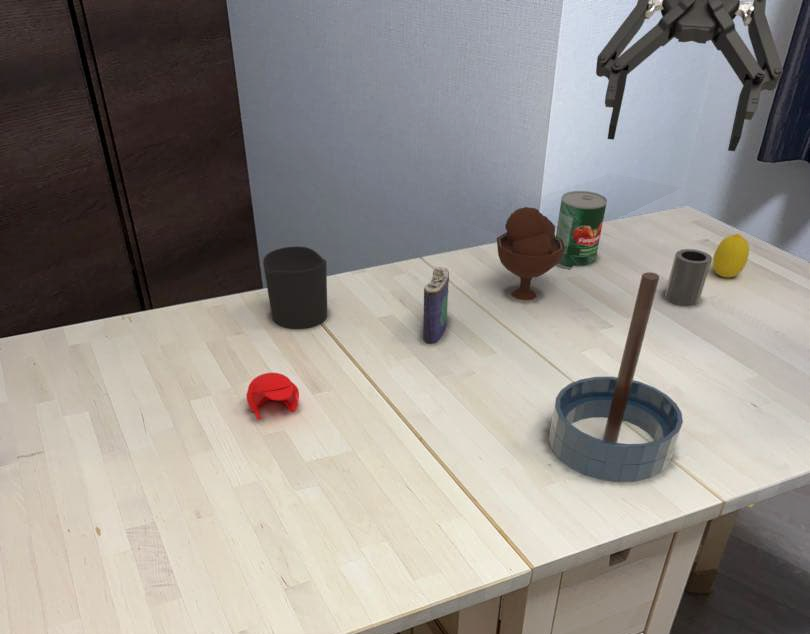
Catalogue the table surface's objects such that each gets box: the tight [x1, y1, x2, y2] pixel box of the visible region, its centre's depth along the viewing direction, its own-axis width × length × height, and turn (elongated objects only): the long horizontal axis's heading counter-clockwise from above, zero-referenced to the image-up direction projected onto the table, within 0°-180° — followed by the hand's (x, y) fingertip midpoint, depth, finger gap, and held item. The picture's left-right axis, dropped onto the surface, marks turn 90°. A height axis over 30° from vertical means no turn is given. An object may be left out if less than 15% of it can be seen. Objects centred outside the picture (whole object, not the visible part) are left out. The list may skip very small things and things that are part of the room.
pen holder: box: [262, 246, 328, 330], centre depth 115 cm, size 9×9×10 cm
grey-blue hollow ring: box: [548, 376, 684, 483], centre depth 93 cm, size 15×15×6 cm
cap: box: [246, 372, 300, 421], centre depth 97 cm, size 8×6×6 cm
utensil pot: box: [664, 248, 713, 307], centre depth 122 cm, size 6×6×8 cm
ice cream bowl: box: [496, 206, 565, 302], centre depth 120 cm, size 11×11×15 cm
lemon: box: [712, 233, 750, 279], centre depth 129 cm, size 6×6×8 cm
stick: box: [602, 271, 660, 443], centre depth 87 cm, size 2×2×22 cm
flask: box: [422, 266, 450, 345], centre depth 112 cm, size 9×3×11 cm, turn 166°
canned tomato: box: [555, 190, 608, 270], centre depth 133 cm, size 8×8×11 cm
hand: (671, 138), depth 85 cm, fingers open, 13 cm apart
